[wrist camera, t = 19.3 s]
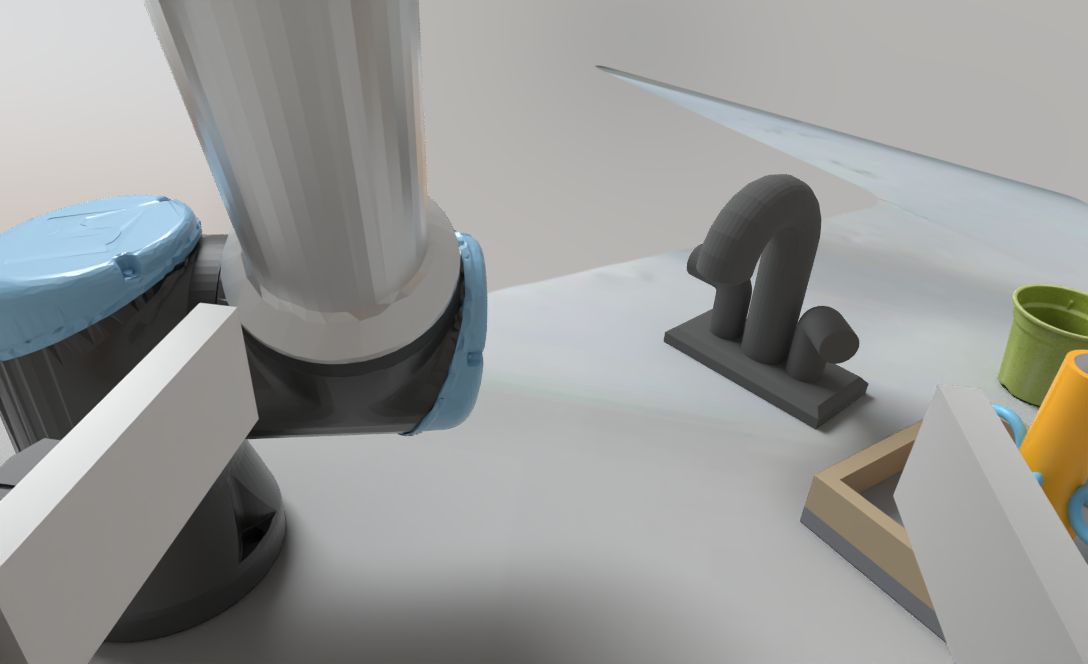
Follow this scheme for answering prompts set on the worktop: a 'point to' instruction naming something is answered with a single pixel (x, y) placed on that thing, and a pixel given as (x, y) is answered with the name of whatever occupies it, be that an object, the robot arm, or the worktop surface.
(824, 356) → the faucet
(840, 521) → the tan and grey tray
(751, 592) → the worktop surface
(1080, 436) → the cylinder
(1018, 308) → the plant pot
